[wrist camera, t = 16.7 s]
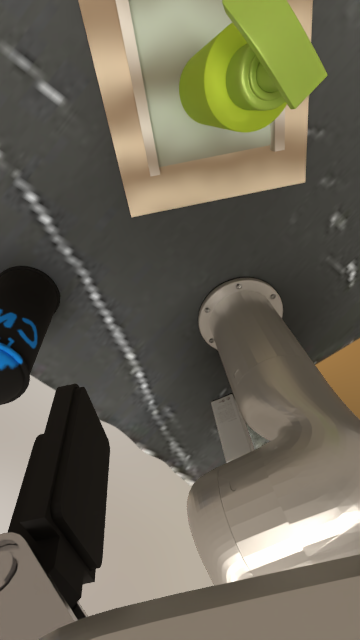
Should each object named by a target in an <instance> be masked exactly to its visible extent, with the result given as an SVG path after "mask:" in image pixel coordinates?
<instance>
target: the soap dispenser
mask: <svg viewBox="0 0 360 640" xmlns="http://www.w3.org/2000/svg"><path fill="white" fill-rule="evenodd" d="M222 4H223V7H224V10H225V12H226V14H227V16H228V17H229V18H230V20H231V21H232V23H231V24H229V25H228V26H227V27H226V28H225V29H224V30H222V31H221V32H220V33H219V34H218V35H217V36H216V37H214V38H213V39H212V40H211V41H210V42H209V43H208V44H206V45H205V46H204V47H203V48H202V49H201V50H200V51H198V52H197V53H196V54H195V55H194V56H193V57H192V58H191V59H190V60H189V61H188V62H187V64H186V65H185V67H184V69H183V71H182V74H181V77H180V83H179V95H180V100H181V103H182V106H183V108H184V110H185V111H186V113H187V114H188V115H189V117H190V118H192V119H193V120H194V121H196V122H198V123H200V124H204V125H209V126H213V127H218V128H222V129H227V130H232V131H236V132H244V133H246V132H254V131H257V130H260V129H262V128H264V127H266V126H267V125H269V124H270V123H272V122H273V121H274V120H275V119H276V118H277V117H278V116H279V115H280V114H281V112H282V111H283V110H284V108H285V107H286V105H288V106H289V108H290V109H296V108H297V107H298V106H299V105H300V104H301V103H302V102H303V101H304V100H305V99H306V97H307V96H308V95H309V94H310V93H311V92H312V91H313V90H314V89H315V88H316V87H317V86H318V85H319V84H320V83H321V82H322V81H323V80H324V79H325V78H326V77H327V73H326V71H325V69H324V67H323V65H322V63H321V61H320V59H319V57H318V55H317V53H316V51H315V49H314V47H313V46H312V44H311V42H310V40H309V38H308V36H307V34H306V32H305V31H304V29H303V27H302V25H301V23H300V22H299V20H298V18H297V17H296V15H295V13H294V12H293V10H292V8H291V7H290V5H289V3H288V2H287V0H222Z"/></svg>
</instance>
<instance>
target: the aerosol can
mask: <svg viewBox="0 0 360 640" xmlns="http://www.w3.org/2000/svg"><path fill="white" fill-rule="evenodd" d="M59 303H60V295H59V291H58V289H57V286H56V285H55V283H54V282H53V281H52V280H51V279H50V278H49V277H48V276H47V275H46V274H44V273H43V272H41V271H39V270H37V269H34V268H30V267H13V268H9V269H7V270H5V271H3V272H2V273H1V274H0V405H2V404H6V403H9V402H11V401H14V400H15V399H17V398H18V397H20V396H21V395H22V394H23V393H24V392H25V390H26V389H27V387H28V385H29V380H30V372H31V369H32V367H33V364H34V362H35V359H36V357H37V354H38V352H39V349H40V347H41V344H42V342H43V339H44V336H45V334H46V331H47V329H48V326H49V324H50V321H51V319H52V316H53V314H54V313H55V312H56V310H57V309H58V306H59Z"/></svg>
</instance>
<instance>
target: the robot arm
mask: <svg viewBox="0 0 360 640" xmlns="http://www.w3.org/2000/svg"><path fill="white" fill-rule="evenodd" d="M237 284H238V285H237ZM282 315H283V305H282V301H281V299H280V296H279V295H278V293H277V292H276V291H275V290H274V288H273V287H272V286H270V285H269V284H268V283H266V282H264V281H262V280H259V279H255V278H238V279H233V280H230V281H227V282H225V283H223V284H221V285H220V286H218V287H217V288H215V289H214V290H213V291H212V292H211V293H210V294H209V295H208V296H207V297H206V299H205V300H204V302H203V303H202V305H201V308H200V310H199V315H198V325H199V329H200V332H201V334H202V337H203V338H204V340H205V341H206V342H207V343H208V344H209V345H210V346H211V347H213V348H215V349H217V350H218V352H219V355H220V358H221V360H222V363H223V366H224V369H225V372H226V375H227V377H228V380H229V383H230V386H231V389H232V392H233V394H234V397H235V400H236V403H237V406H238V409H239V411H240V413H241V415H242V417H243V419H244V420H245V422H246V423H247V424H248V425H249V426H250V427H251V428H252V429H253V430H254V431H255V432H257V433H258V434H259V435H261V436H262V437H264V438H265V439H267V440H269V441H270V442H268V443H266V444H264V445H262V446H261V447H260V448H258V449H255V450H253V451H251V452H249V453H247V454H245V455H243V456H240V457H238V458H236V459H234V460H232V461H230V462H228V463H225V464H223V465H221V466H219V467H217V468H215V469H213V470H211V471H209V472H208V473H206V474H204V475H203V476H201V477H200V478H199V479H198V480H197V481H196V482H195V483H194V484H193V486H192V488H191V490H190V492H189V496H188V500H187V514H188V521H189V526H190V529H191V533H192V536H193V539H194V542H195V545H196V548H197V550H198V552H199V555H200V557H201V559H202V562H203V564H204V566H205V568H206V570H207V572H208V574H209V576H210V578H211V580H212V582H213V584H214V586H211V587H206V588H202V589H198V590H192V591H188V592H184V593H179V594H174V595H170V596H166V597H162V598H158V599H153V600H149V601H146V602H141V603H137V604H133V605H128V606H124V607H121V608H116V609H112V610H109V611H106V612H102V613H99V614H96V615H92V616H89V617H88V616H87V614H86V613H85V611H84V610H83V608H82V606H81V605H80V603H79V602H78V600H79V599H80V598H81V593H82V585H83V584H85V583H91V582H95V570H96V568H100V567H101V564H102V557H103V541H104V528H105V514H106V498H107V484H108V471H109V456H110V446H109V441H108V438H107V436H106V434H105V432H104V429H103V427H102V425H101V423H100V420H99V418H98V416H97V414H96V411H95V409H94V407H93V405H92V402H91V400H90V398H89V396H88V394H87V391H86V389H85V388H84V387H79V386H78V385H77V384H72V385H67V386H62V387H58V388H57V390H56V393H55V397H54V400H53V403H52V407H51V411H50V414H49V418H48V422H47V425H46V429H45V433H44V434H41V435H39V436H38V437H37V438H36V440H35V442H34V446H33V449H32V452H31V456H30V459H29V462H28V466H27V469H26V472H25V476H24V479H23V483H22V486H21V489H20V493H19V496H18V499H17V503H16V506H15V509H14V513H13V516H12V519H11V523H10V526H9V530H8V533H3V534H0V640H360V420H359V419H358V418H357V417H356V416H355V415H354V414H353V413H352V411H350V409H349V408H348V407H347V406H346V405H345V404H344V403H343V402H342V400H341V399H340V398H339V397H338V395H337V394H336V393H335V392H334V391H333V389H332V388H331V387H330V385H329V384H328V383H327V381H326V380H325V379H324V377H323V376H322V374H321V373H320V372H319V370H318V369H317V367H316V366H315V365H314V363H313V362H312V360H311V359H310V358H309V356H308V355H307V353H306V352H305V350H304V349H303V348H302V346H301V345H300V343H299V342H298V341H297V339H296V338H295V336H294V335H293V334H292V332H291V331H290V329H289V328H288V327H287V325H286V324H285V322H284V321H283V320H282Z"/></svg>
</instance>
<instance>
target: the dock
mask: <svg viewBox="0 0 360 640" xmlns="http://www.w3.org/2000/svg"><path fill="white" fill-rule="evenodd" d="M78 1H79V5H80V9H81V13H82V17H83V21H84V26H85V30H86V34H87V38H88V42H89V46H90V50H91V54H92V58H93V62H94V66H95V70H96V75H97V79H98V83H99V87H100V91H101V95H102V99H103V103H104V107H105V111H106V115H107V120H108V124H109V128H110V132H111V136H112V140H113V144H114V148H115V152H116V156H117V160H118V164H119V169H120V173H121V177H122V181H123V185H124V189H125V193H126V197H127V201H128V205H129V209H130V214H131V217H135V216H140V215H145V214H150V213H155V212H160V211H165V210H170V209H175V208H180V207H185V206H190V205H195V204H200V203H205V202H210V201H215V200H220V199H224V198H229V197H234V196H239V195H244V194H249V193H254V192H259V191H264V190H269V189H274V188H279V187H284V186H289V185H294V184H299V183H304V182H305V175H306V150H307V126H308V101H309V95H308V96H307V97H306V99H305V100H304V101H303V102H302V103H301V104H300V105H299V106H298V107H297V108H296V109H290V108H289V106H288V105H286V107H285V108H284V110H283V111H282V112H281V114H280V115H279V116H278V117H277V118H276V119H275V120H274V121H273V122H272V123H270V124H269V125H267V126H266V127H264V128H262V129H260V130H257V131H254V132H246V133H244V132H236V131H232V130H227V129H222V128H218V127H213V126H209V125H204V124H200V123H198V122H196V121H194V120H193V119H192V118H190V117H189V115H188V114H187V113H186V111H185V110H184V108H183V106H182V103H181V100H180V95H179V83H180V77H181V74H182V71H183V69H184V67H185V65H186V64H187V62H188V61H189V60H190V59H191V58H192V57H193V56H194V55H195V54H196V53H197V52H198V51H200V50H201V49H202V48H203V47H204V46H205V45H206V44H208V43H209V42H210V41H211V40H212V39H213V38H214V37H216V36H217V35H218V34H219V33H220V32H221V31H222V30H224V29H225V28H226V27H227V26H228V25H229V24H231V23H232V21H231V20H230V18H229V17H228V16H227V14H226V12H225V10H224V7H223V4H222V0H78ZM287 2H288V3H289V5H290V7H291V8H292V10H293V12H294V13H295V15H296V17H297V18H298V20H299V22H300V23H301V25H302V27H303V29H304V31H305V32H306V34H307V36H308V38H309V40H310V42H311V28H312V3H313V0H287Z"/></svg>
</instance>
